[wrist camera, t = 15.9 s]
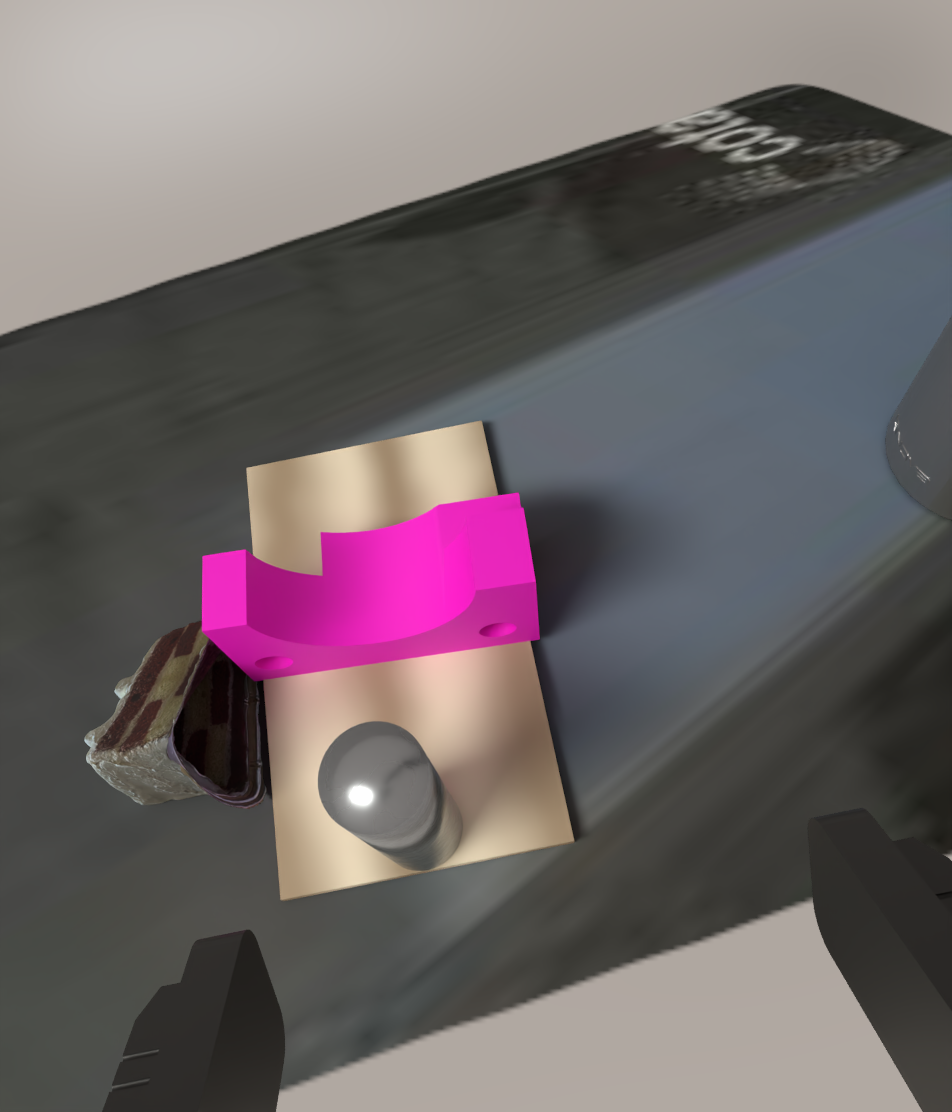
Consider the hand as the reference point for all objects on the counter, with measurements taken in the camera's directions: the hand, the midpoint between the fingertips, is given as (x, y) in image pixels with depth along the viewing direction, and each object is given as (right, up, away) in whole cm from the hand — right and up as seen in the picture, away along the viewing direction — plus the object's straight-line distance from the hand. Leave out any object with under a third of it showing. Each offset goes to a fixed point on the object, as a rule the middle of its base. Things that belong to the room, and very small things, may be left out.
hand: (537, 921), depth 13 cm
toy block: (-5, +2, +35) cm, 36 cm away
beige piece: (-5, +1, +35) cm, 35 cm away
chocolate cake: (-16, -3, +35) cm, 38 cm away
